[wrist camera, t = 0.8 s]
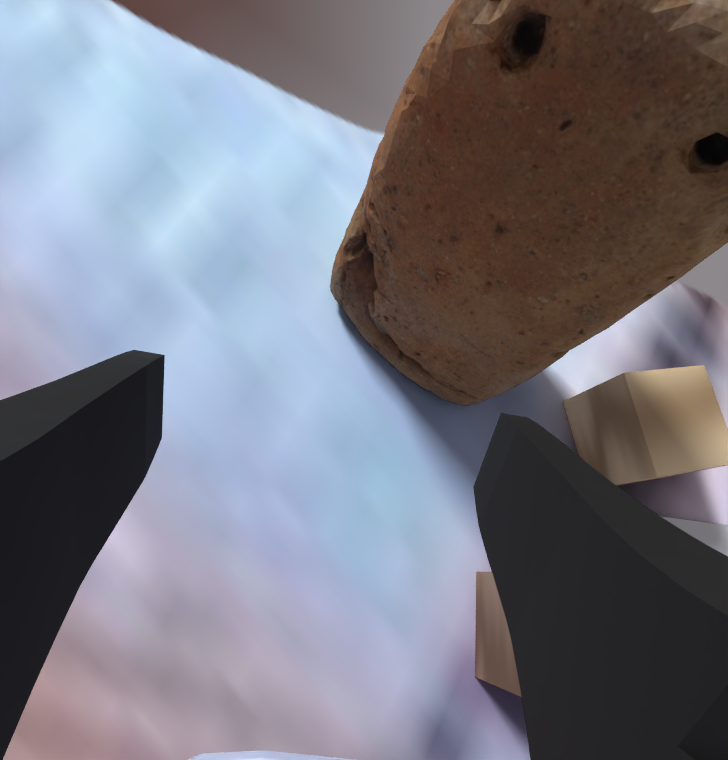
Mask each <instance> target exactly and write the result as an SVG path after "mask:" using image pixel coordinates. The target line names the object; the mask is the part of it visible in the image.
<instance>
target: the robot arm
mask: <svg viewBox="0 0 728 760" xmlns="http://www.w3.org/2000/svg"><path fill="white" fill-rule="evenodd" d="M164 356H165V355H160V354H155V353H149V352H143V351H137V350H132V351H129V352H125V353H123V354H120V355H117V356H115V357H112V358H110V359H107V360H105V361H102V362H100V363H97V364H95V365H93V366H90V367H88V368H85V369H83V370H80V371H78V372H75V373H73V374H71V375H68V376H66V377H63V378H61V379H58V380H56V381H53V382H50V383H48V384H45V385H42V386H39V387H36V388H34V389H31V390H28V391H25V392H22V393H20V394H17V395H14V396H11V397H9V398H6V399H3V400H0V760H3V757H4V755H5V752H6V750H7V748H8V745H9V743H10V741H11V738H12V736H13V734H14V731H15V729H16V727H17V724H18V722H19V719H20V717H21V715H22V712H23V710H24V708H25V705H26V703H27V701H28V698H29V696H30V694H31V691H32V689H33V687H34V684H35V682H36V680H37V678H38V675H39V673H40V671H41V669H42V667H43V664H44V662H45V660H46V658H47V655H48V653H49V651H50V649H51V647H52V644H53V642H54V640H55V638H56V635H57V633H58V631H59V629H60V627H61V625H62V623H63V621H64V619H65V616H66V614H67V612H68V610H69V608H70V606H71V604H72V602H73V600H74V597H75V595H76V593H77V591H78V589H79V587H80V585H81V583H82V581H83V580H84V578H85V576H86V574H87V572H88V571H89V569H90V567H91V565H92V563H93V562H94V560H95V559H96V557H97V555H98V554H99V552H100V550H101V549H102V547H103V546H104V544H105V542H106V541H107V539H108V537H109V536H110V534H111V533H112V531H113V529H114V528H115V526H116V524H117V523H118V521H119V520H120V518H121V516H122V515H123V513H124V511H125V510H126V508H127V507H128V505H129V503H130V502H131V500H132V498H133V497H134V495H135V493H136V492H137V490H138V488H139V487H140V485H141V483H142V482H143V480H144V478H145V476H146V474H147V472H148V469H149V467H150V465H151V463H152V460H153V458H154V456H155V453H156V451H157V448H158V446H159V443H160V441H161V439H162V415H163V385H164ZM474 494H475V503H476V511H477V517H478V523H479V528H480V532H481V536H482V539H483V543H484V546H485V550H486V553H487V557H488V560H489V564H490V567H491V570H492V574H493V577H494V580H495V584H496V587H497V590H498V594H499V597H500V601H501V604H502V607H503V611H504V614H505V617H506V621H507V625H508V629H509V633H510V637H511V641H512V647H513V652H514V658H515V663H516V669H517V674H518V679H519V685H520V691H521V697H522V704H523V710H524V716H525V723H526V729H527V736H528V742H529V750H530V758H531V760H728V556H726V555H724V554H723V553H721V552H719V551H717V550H715V549H713V548H711V547H710V546H708V545H706V544H705V543H703V542H701V541H699V540H698V539H696V538H694V537H692V536H691V535H689V534H688V533H686V532H684V531H683V530H681V529H680V528H678V527H676V526H675V525H673V524H672V523H670V522H668V521H667V520H665V519H664V518H662V517H660V516H659V515H657V514H656V513H654V512H653V511H651V510H650V509H648V508H647V507H645V506H644V505H643V504H641V503H640V502H638V501H637V500H636V499H634V498H633V497H631V496H630V495H629V494H627V493H626V492H625V491H623V490H622V489H620V488H619V487H618V486H616V485H615V484H614V483H612V482H611V481H610V480H608V479H607V478H606V477H604V476H603V475H602V474H601V473H599V472H598V471H597V470H595V469H594V468H593V467H592V466H590V465H589V464H588V463H587V462H585V461H584V460H583V459H582V458H580V457H579V456H578V455H577V454H575V453H574V452H573V451H572V450H570V449H569V448H568V447H567V446H566V445H564V444H563V443H562V442H561V441H559V440H558V439H557V438H556V437H554V436H553V435H552V434H550V433H549V432H548V431H547V430H545V429H544V428H543V427H541V426H540V425H538V424H537V423H535V422H534V421H532V420H531V419H529V418H526V417H520V416H514V415H509V414H503V413H501V415H500V417H499V420H498V423H497V426H496V428H495V431H494V434H493V436H492V439H491V442H490V444H489V447H488V450H487V452H486V455H485V458H484V460H483V463H482V466H481V468H480V471H479V474H478V476H477V479H476V482H475V485H474ZM188 760H353V759H343V758H333V757H323V756H313V755H303V754H293V753H283V752H273V751H245V752H224V753H203V754H200V755H197V756H195V757H193V758H190V759H188Z"/></svg>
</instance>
